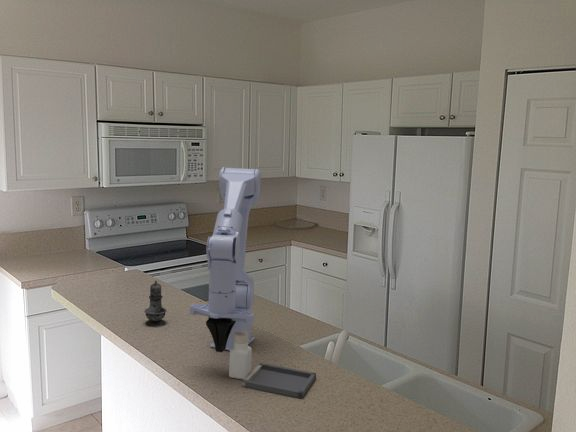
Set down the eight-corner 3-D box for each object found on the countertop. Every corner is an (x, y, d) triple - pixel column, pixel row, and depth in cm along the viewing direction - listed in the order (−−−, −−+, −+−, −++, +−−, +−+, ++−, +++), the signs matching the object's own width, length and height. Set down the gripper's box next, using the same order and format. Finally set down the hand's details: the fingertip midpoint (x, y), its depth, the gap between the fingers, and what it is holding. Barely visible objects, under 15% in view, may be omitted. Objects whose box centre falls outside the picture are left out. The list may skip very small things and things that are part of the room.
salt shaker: (143, 320, 147) (143, 277, 145) (165, 318, 148) (166, 277, 147) (144, 327, 141) (145, 283, 139) (167, 326, 143) (168, 282, 141)
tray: (259, 367, 120) (259, 362, 120) (315, 378, 116) (316, 373, 115) (241, 386, 110) (241, 380, 110) (301, 398, 106) (302, 393, 106)
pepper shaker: (251, 373, 117) (253, 331, 115) (245, 381, 113) (247, 338, 112) (234, 370, 118) (235, 329, 116) (227, 378, 114) (229, 335, 112)
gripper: (182, 290, 113) (181, 351, 115) (245, 299, 108) (243, 363, 110) (199, 282, 119) (197, 340, 121) (259, 290, 115) (256, 350, 117)
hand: (220, 350), depth 116 cm, fingers closed
